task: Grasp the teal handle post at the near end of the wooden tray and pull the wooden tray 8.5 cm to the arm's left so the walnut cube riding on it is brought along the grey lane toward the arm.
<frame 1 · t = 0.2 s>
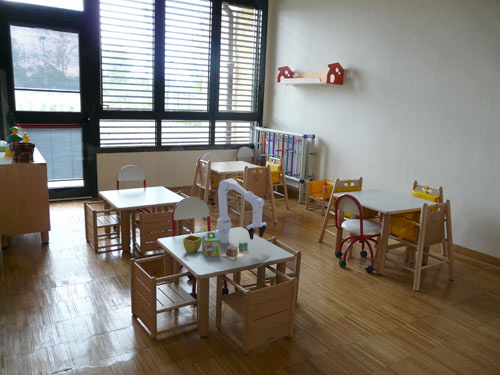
hand: (256, 238, 267), 10 cm above the table, fingers open, 7 cm apart
chalk box: (210, 256, 262), on the table, touching lane rails
walnut cube: (231, 255, 260), point 1 cm above the table, touching wooden tray
wooden tray: (235, 250, 263), point 3 cm above the table, slide at 0.0 cm, touching walnut cube
flower pot: (192, 252, 267), on the table
lane rails: (238, 253, 267), on the table
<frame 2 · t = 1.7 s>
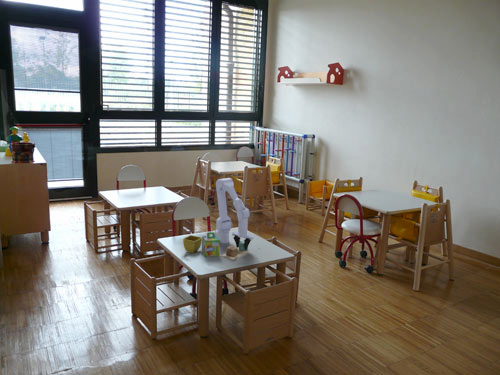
hand: (241, 248, 269), 3 cm above the table, fingers closed on wooden tray, 5 cm apart
wooden tray: (235, 250, 263), point 3 cm above the table, slide at 0.0 cm, touching gripper, walnut cube
everything else where it was.
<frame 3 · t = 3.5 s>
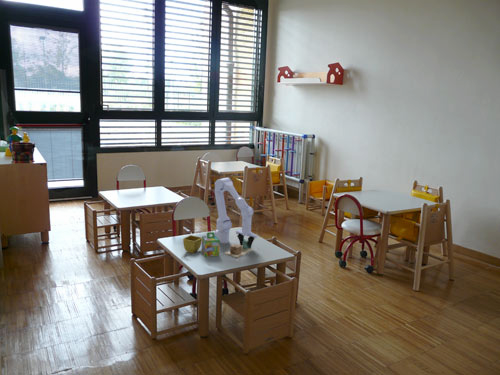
hand: (245, 246, 273), 3 cm above the table, fingers closed on wooden tray, 6 cm apart
walnut cube: (235, 253, 263), point 1 cm above the table, touching wooden tray
wooden tray: (239, 248, 267), point 3 cm above the table, slide at 4.4 cm, touching gripper, walnut cube
everything else where it was.
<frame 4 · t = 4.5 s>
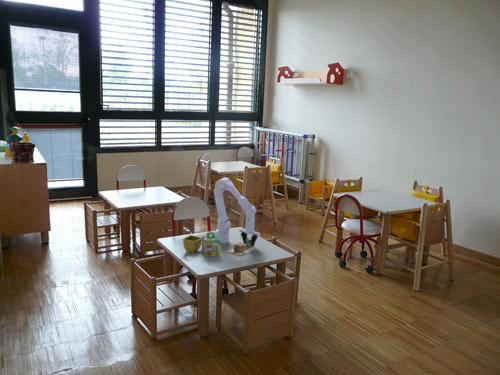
hand: (249, 244, 276), 3 cm above the table, fingers closed on wooden tray, 6 cm apart
walnut cube: (239, 251, 267), point 1 cm above the table, touching wooden tray
wooden tray: (243, 246, 270), point 3 cm above the table, slide at 8.2 cm, touching gripper, walnut cube
everything else where it was.
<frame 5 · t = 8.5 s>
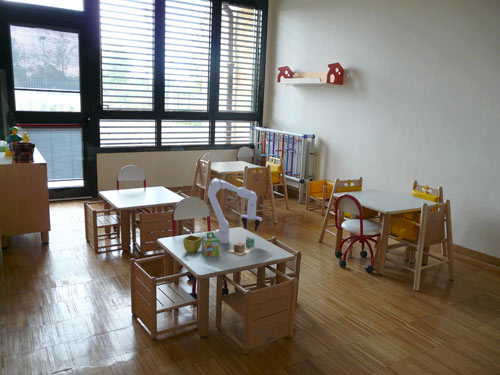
hand: (250, 229, 283), 10 cm above the table, fingers open, 7 cm apart
wooden tray: (243, 246, 270), point 3 cm above the table, slide at 8.2 cm, touching walnut cube
everything else where it was.
at the end: wooden tray slide at 8.2 cm; walnut cube inside the target area (0.1 cm from its centre), point 1.5 cm above the table; walnut cube tilted 0° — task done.
